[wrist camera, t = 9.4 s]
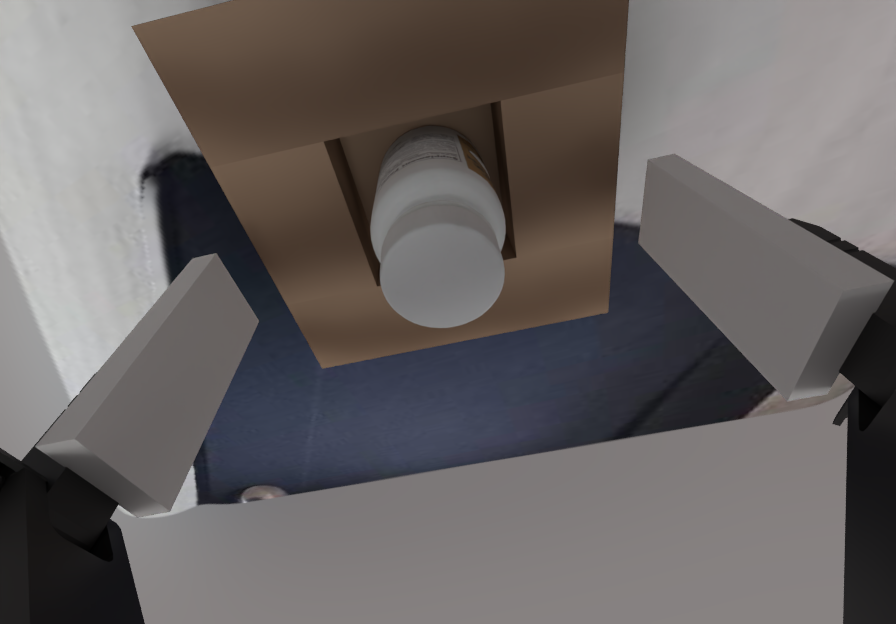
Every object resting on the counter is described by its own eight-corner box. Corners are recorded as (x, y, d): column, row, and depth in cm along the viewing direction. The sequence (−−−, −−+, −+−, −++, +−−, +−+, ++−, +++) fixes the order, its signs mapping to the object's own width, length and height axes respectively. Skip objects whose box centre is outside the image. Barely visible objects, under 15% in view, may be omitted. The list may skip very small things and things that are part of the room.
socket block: (203, 19, 15) (131, 26, 11) (573, -75, 14) (636, -103, 10) (336, 307, 24) (322, 368, 20) (573, 258, 23) (608, 312, 19)
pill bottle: (488, 218, 18) (525, 329, 12) (393, 233, 18) (383, 351, 12) (479, 114, 16) (522, 191, 10) (368, 133, 16) (339, 220, 10)
